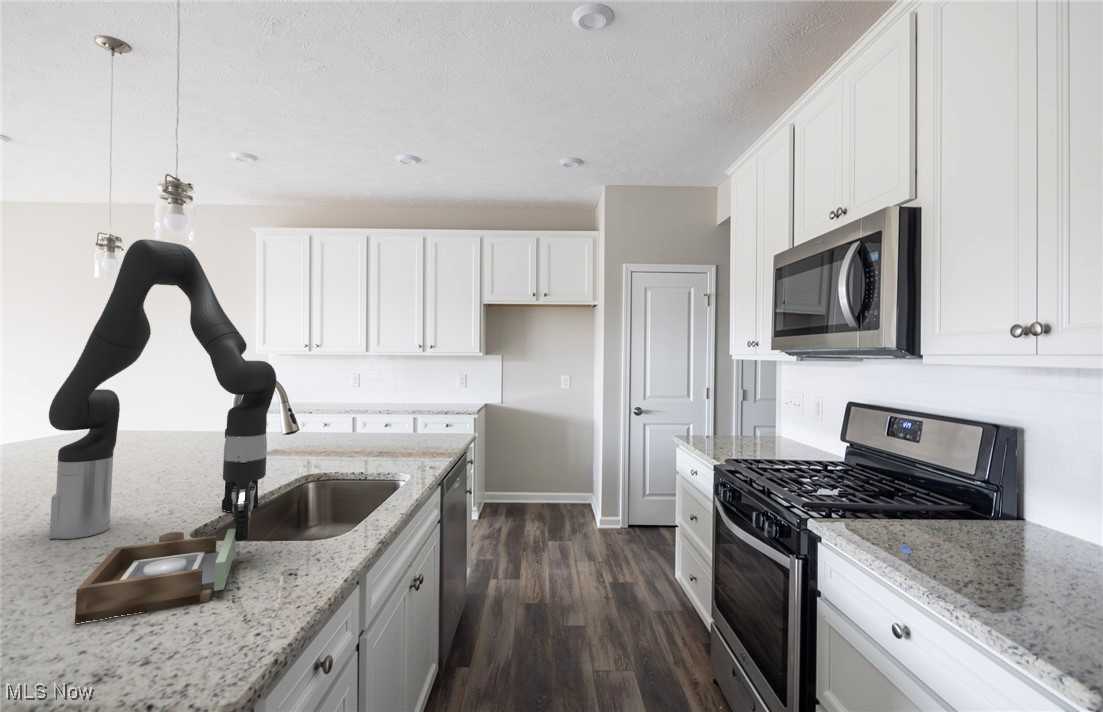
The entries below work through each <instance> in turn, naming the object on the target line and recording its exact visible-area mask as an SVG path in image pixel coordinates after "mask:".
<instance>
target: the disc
mask: <svg viewBox="0 0 1103 712" xmlns="http://www.w3.org/2000/svg"><path fill="white" fill-rule="evenodd" d="M185 570H186V559H184V558H168V559H162V560H158V561H155V562H152V563H150V564H148V565H146V566H145V567H144V570H143V577H144V576H151V575H158V574H165V573H172V572H179V571H185Z"/></svg>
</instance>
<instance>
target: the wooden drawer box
mask: <svg viewBox="0 0 1103 712" xmlns="http://www.w3.org/2000/svg"><path fill="white" fill-rule="evenodd" d="M217 536H218V535H209V536H200V537H193V538H184V539H183V540H174V541H166V542H159V541H158V542H157V541H156V542H151V543H150V542H149V543H144V544H143V543H142V544H134V545H125V546H115V548H114V549H113V550H112V551H111V552H110V553H109V554H108V555H107V556H106V557H105V558H104V559H103V561H101V562H100V563H99V564H98V566H97V567H96V568H95V569H94V570H93V571H91V573H90V575H88V576H87V577H86V578H85V580H84V581H83V582H82V583H81V584H80V585H79V586H78V587H77V588H76V593H75V594H76V597H75V613H74V615H75V616H74V625H75V624H76V623H81V622H86V621H93V620H100V619H105V618H109V617H114V616H121V615H127V614H134V613H139V612H146V613H149V612H148V611H152V612H157V611H156V610H158V611H163V610H168V609H173V608H174V607H175V608H180V607H185V606H192V605H198V604H202V603H203V604H204V603H208V602H210V600H211V597H212V595H213V592H214V588H209V589H203V590H202V571H203V568H200V569H193V570H186V571H179V572H172V573H165V574H158V575H151V576H144V577H137V578H130V579H124V580H120V579H121V578H122V576H123V575H124V574H125V573H126V571H127V570H128V569H129V567H130V566H131V565H132V564H133V562H134V561H136V560H144V559H152V558H159V557H167V556H175V555H182V554H190V553H197V552H205V554H208V553H215V552H217V539H218V537H217ZM100 621H101V620H100Z"/></svg>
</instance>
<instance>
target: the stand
mask: <svg viewBox="0 0 1103 712" xmlns="http://www.w3.org/2000/svg"><path fill="white" fill-rule="evenodd" d="M183 539H185V533H184V532H183V531H173V532H169V533H168V532H167V533H164V534H162V535H159V537H158V542H166V541H174V540H183Z"/></svg>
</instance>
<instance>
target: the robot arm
mask: <svg viewBox="0 0 1103 712" xmlns="http://www.w3.org/2000/svg"><path fill="white" fill-rule="evenodd" d="M155 285H158V286H159V285H161V286H171V287H173V286H176V287H178V288H179V289H180V290H181V291H182V292H183V293H184V294H185V296H186V297H187V299H188V300H189V303H190V316H189V317H190V319H189V322H190V323H189V324H190V327H191V330H192V332H193V335H194V336H195V338H196V339H197V341H198V343H199V344H200V345H201V346H202V348H203V349H204V350H205V352H206V353H207V354H208V356H209V358H210V362H211V365H212V368H213V371H214V374H215V377H216V379H217V381H218V383H219V385H220V386H221V388H223V389H224V391H226V392H228V393H230V394H231V395H235V396H236V395H237V396H242V398H241V401H240V403H238V404H237V405H236V406H233V407H230V409H228V412H227V416H226V428H225V429H226V439H225V441H224V445H223V463H222V464H223V465H222V467H223V469H222V480H223V481H224V482H225V481H226V482H235V483H236V484H237V486H236V487H233V490H232V500H233V522H234V524H235V528H236V532H235V540H236V542H239V541H240V542H242V541H245V540H246V541H247V540H248V537H249V528H250V521H251V517H252V516H251V513H252V511H253V509H254V508H253V502H254V495H255V490H256V485H254V486H252V481H253V480H255V481H256V480H258V481H259V480H262V479H264V478H265V477H266V476H267V475H266V474H267V453H268V452H267V451H268V441H267V424H268V423H267V421H268V420H267V419H268V417H267V415H268V412H269V410H270V407H271V404H272V401H273V397H274V395H275V391H276V387H277V373H276V371H275V368H274V367H273V366H272V364H271V363H269V362H267V361H263V360H246V358H244V357H243V354H244V353H245V352H246V351H247V342H246V340H245V338H244V337H243V336H242V334H241V333H240V331H239V330H238V329H237V328H236V326H235V324H233V322H232V321H231V319H230V317H228V316H227V314H226V312H225V311H224V309H223V308H222V307H223V306H221V304H220V302H219V300H218V298H217V296H216V294H215V291H214V289H213V288H212V285H211V283H210V281H209V279H208V277H207V275H206V273H205V271H204V269H203V267H202V265H201V263H200V261H199V259H198V258H197V256H196V255H195V253H194V252H193V251H192V249H190V248H189V247H187V246H185V245H183V244H181V243H180V244H179V243H175V242H169V241H168V242H167V241H163V240H162V241H161V240H154V239H146V238H145V239H143V238H142V239H138V240H136V241H134V242H133V243H132V244H131V245H130V246H129V247H128V249H127V250H126V253H125V254H124V256H123V260H122V261H121V265H120V268H119V271H118V273H117V277H116V280H115V282H114V285H113V289H112V291H111V294H110V296H109V298H108V300H107V302H106V304H105V306H104V308H103V311H102V313H101V315H100V316H99V319H98V320H97V322H96V323H95V325H94V328H93V329H92V332H91V333H90V335H89V337H88V339H87V342H86V343H85V345H84V348H83V350H82V352H81V354H80V356H79V358H78V359H77V362H76V364H75V365H74V367H73V368H72V370H71V371H70V373H69V375H68V377H67V378H65V381H64V382H63V384H62V385H61V386H60V387H59V389H58V390H57V391H56V393H55V395H54V398H53V399H52V402H51V404H50V406H49V411H48V420H49V423H50V425H51V427H53V428H54V429H56V430H58V431H67V432H68V431H71V432H73V431H82V430H88V432H87V434H86V435H84V436H83V437H82V438H80V439H78V440H76V441H73V442H71V443H69V444H66V445H64V446H62V447H60V448H59V450H58V453H57V465H56V466H57V469H56V489H55V494H54V495H52V496H51V502H50V520H49V521H50V523H49V524H50V525H49V538H48V539H49V540H52V539H54V540H55V539H57V540H70V539H71V540H72V539H79V538H86V537H91V536H95V535H98V534H101V533H104V532H106V531H108V530H109V529H110V527H111V525H110V523H111V508H112V507H111V506H112V490H113V489H112V487H113V467H114V451H115V447H116V444H117V438H118V437H117V436H118V429H119V428H118V427H119V419H120V411H121V407H120V406H121V405H120V399H119V397H118V393H116V392H115V391H114V390H112V389H104V388H103V389H97V388H98V387H99V386H100V385H102V384H103V383H104V382H105V383H106V381H108V380H109V379H111V378H112V377H115V376H116V375H118V374H119V373H121V372H123V371H124V370H126V369H127V368H129V367H130V366H132V365H133V364H134V363H135V362H136V361H137V360H138V359H139V358H140V357H141V355H142V353H143V351H144V350H145V348H146V346H147V344H148V342H149V340H150V338H151V334H152V331H151V330H152V329H151V324H150V322H149V319H148V317H147V314H146V312H145V308H144V305H145V300H146V298H147V296H148V294H149V292H150V290H151V289H152V288H153V286H155Z"/></svg>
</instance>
